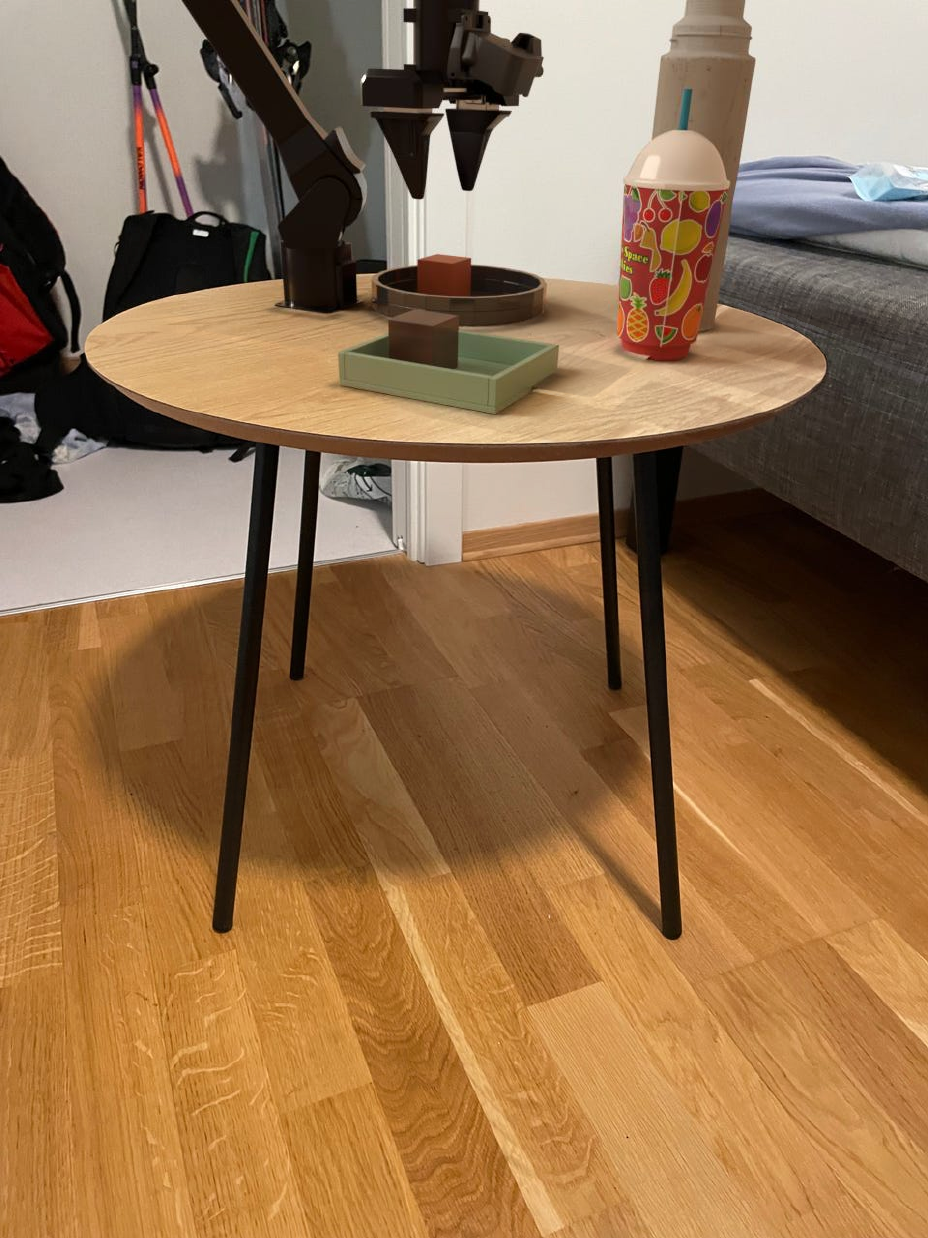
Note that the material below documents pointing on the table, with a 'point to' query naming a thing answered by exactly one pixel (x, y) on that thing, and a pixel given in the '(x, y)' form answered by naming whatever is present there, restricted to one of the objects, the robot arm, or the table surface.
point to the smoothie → (669, 240)
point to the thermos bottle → (710, 99)
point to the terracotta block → (444, 275)
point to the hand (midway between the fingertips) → (443, 194)
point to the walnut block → (424, 338)
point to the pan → (490, 302)
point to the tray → (454, 371)
